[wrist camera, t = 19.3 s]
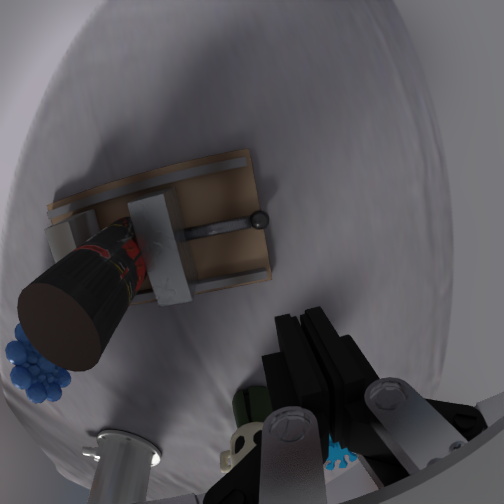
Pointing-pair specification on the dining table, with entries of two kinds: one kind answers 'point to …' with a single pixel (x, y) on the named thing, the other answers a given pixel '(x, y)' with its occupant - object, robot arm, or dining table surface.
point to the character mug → (246, 424)
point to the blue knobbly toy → (338, 455)
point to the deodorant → (83, 297)
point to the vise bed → (193, 211)
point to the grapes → (35, 370)
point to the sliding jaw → (176, 242)
